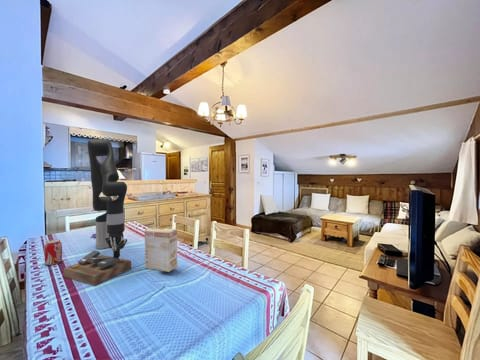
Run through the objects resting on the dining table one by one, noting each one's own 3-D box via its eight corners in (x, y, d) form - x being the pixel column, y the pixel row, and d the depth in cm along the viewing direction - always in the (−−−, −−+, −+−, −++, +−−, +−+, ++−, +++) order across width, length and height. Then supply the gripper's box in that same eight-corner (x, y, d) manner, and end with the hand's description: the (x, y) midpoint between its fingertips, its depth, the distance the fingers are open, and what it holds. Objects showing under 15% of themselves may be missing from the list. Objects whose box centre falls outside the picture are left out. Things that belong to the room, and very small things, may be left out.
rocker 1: (94, 253, 109) (93, 250, 108) (100, 254, 107) (99, 251, 106) (79, 264, 102) (77, 261, 101) (84, 265, 100) (83, 262, 100)
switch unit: (102, 262, 114) (102, 253, 114) (131, 268, 106) (131, 258, 106) (63, 276, 98) (63, 266, 97) (94, 285, 89) (94, 274, 89)
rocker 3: (113, 259, 103) (113, 256, 103) (119, 260, 102) (119, 257, 102) (96, 266, 96) (96, 262, 96) (103, 268, 94) (103, 264, 94)
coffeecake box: (178, 266, 108) (177, 228, 108) (169, 272, 101) (168, 232, 101) (154, 262, 113) (154, 226, 113) (144, 268, 106) (144, 229, 106)
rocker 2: (103, 260, 106) (104, 256, 106) (109, 261, 104) (109, 257, 104) (86, 261, 99) (87, 257, 99) (93, 263, 97) (93, 259, 97)
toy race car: (88, 239, 158) (88, 230, 158) (111, 235, 168) (110, 227, 168) (91, 241, 151) (91, 233, 151) (114, 237, 162) (114, 229, 162)
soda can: (51, 266, 109) (51, 243, 109) (41, 265, 110) (40, 242, 110) (65, 261, 116) (65, 239, 115) (55, 260, 117) (54, 238, 117)
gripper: (132, 221, 103) (133, 256, 103) (113, 219, 108) (114, 253, 109) (118, 225, 96) (119, 262, 97) (99, 223, 101) (100, 258, 102)
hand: (116, 257), depth 103 cm, fingers closed
